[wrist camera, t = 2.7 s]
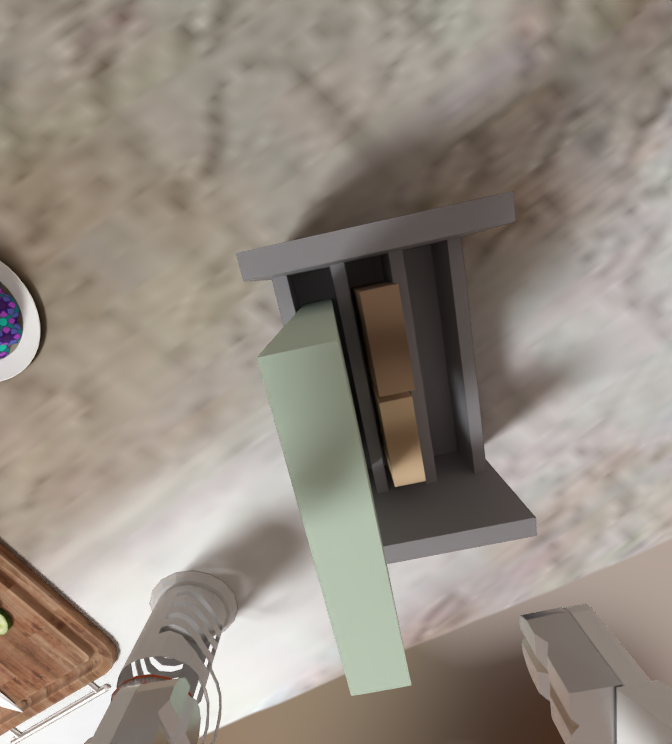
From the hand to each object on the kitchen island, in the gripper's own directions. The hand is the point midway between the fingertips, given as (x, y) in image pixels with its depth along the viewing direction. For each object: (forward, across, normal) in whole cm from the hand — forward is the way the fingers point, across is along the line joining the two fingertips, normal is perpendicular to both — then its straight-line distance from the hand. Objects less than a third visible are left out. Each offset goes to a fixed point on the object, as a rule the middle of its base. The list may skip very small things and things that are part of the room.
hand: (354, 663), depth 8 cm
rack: (+25, -4, 0) cm, 26 cm away
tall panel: (+24, 0, 0) cm, 24 cm away
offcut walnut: (+24, -4, -4) cm, 24 cm away
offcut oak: (+24, -4, +4) cm, 24 cm away
